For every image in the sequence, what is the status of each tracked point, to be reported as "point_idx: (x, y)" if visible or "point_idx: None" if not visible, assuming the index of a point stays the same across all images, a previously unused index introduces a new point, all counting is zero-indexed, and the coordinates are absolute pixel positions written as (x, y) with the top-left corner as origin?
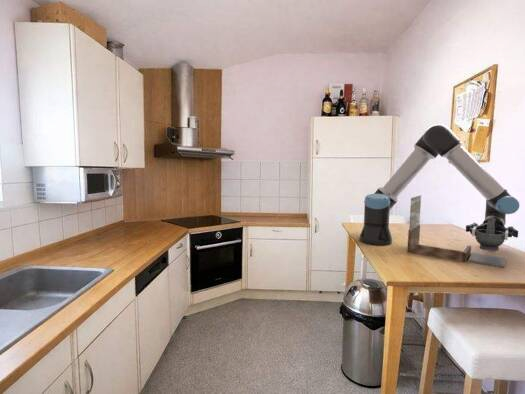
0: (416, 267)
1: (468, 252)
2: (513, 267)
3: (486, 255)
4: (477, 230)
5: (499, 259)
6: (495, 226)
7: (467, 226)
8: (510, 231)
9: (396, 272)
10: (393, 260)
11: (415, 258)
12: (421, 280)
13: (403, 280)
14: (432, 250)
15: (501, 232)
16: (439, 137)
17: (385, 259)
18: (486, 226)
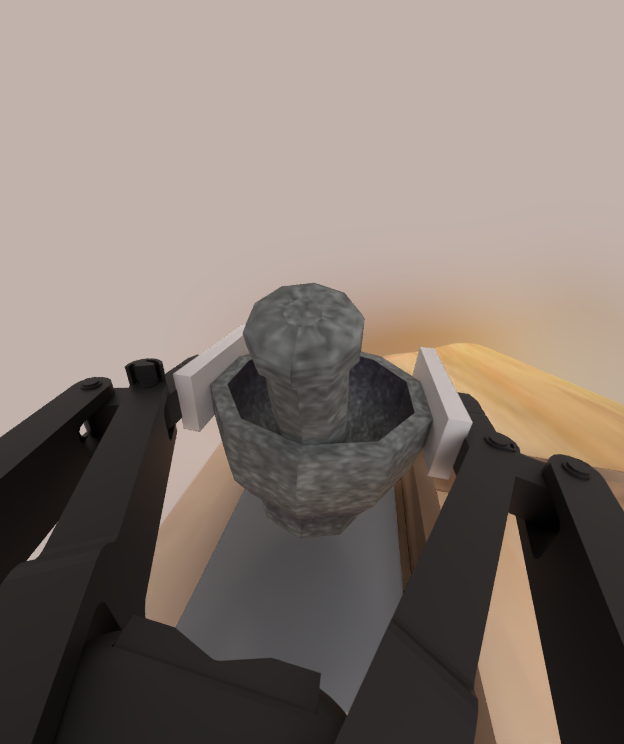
0: (486, 386)
1: (419, 545)
2: (217, 482)
3: (301, 651)
4: (413, 402)
5: (241, 558)
6: (124, 671)
7: (561, 460)
8: (159, 380)
9: (490, 359)
10: (573, 408)
11: (559, 446)
12: (434, 348)
13: (455, 343)
14: None
15: (231, 396)
16: None
17: (595, 408)
18: (337, 708)
